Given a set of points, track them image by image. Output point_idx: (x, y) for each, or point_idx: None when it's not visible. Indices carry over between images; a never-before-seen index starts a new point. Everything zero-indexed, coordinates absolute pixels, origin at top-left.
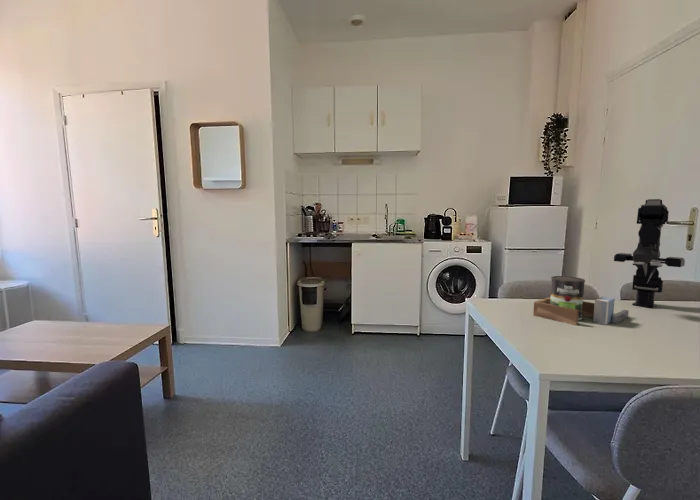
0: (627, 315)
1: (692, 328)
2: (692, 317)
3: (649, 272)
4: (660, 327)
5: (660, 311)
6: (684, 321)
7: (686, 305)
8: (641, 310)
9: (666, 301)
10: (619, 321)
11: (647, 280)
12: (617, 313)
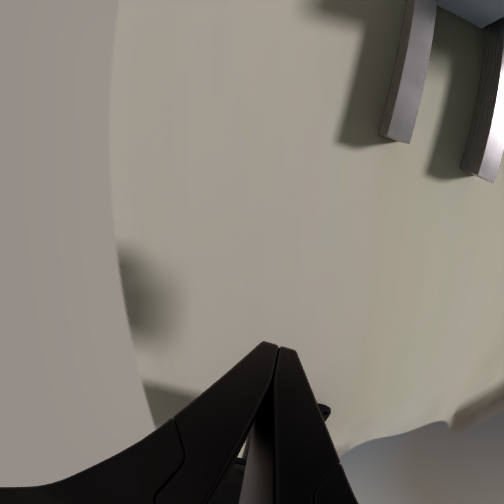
0: (384, 120)
1: (114, 108)
2: (131, 313)
3: (159, 470)
4: (224, 15)
5: (231, 357)
6: (141, 223)
7: None
8: (304, 338)
9: None
10: (406, 5)
11: (243, 361)
12: (432, 11)
